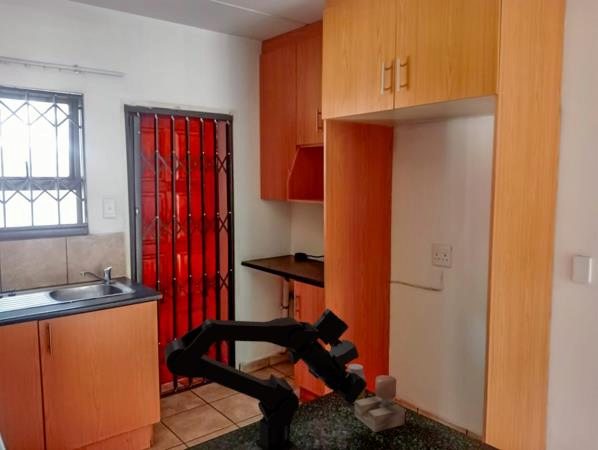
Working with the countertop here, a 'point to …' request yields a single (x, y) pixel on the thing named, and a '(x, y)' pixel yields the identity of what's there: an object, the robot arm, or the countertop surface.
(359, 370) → the supplement bottle
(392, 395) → the knob
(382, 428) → the knob track
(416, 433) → the countertop surface
